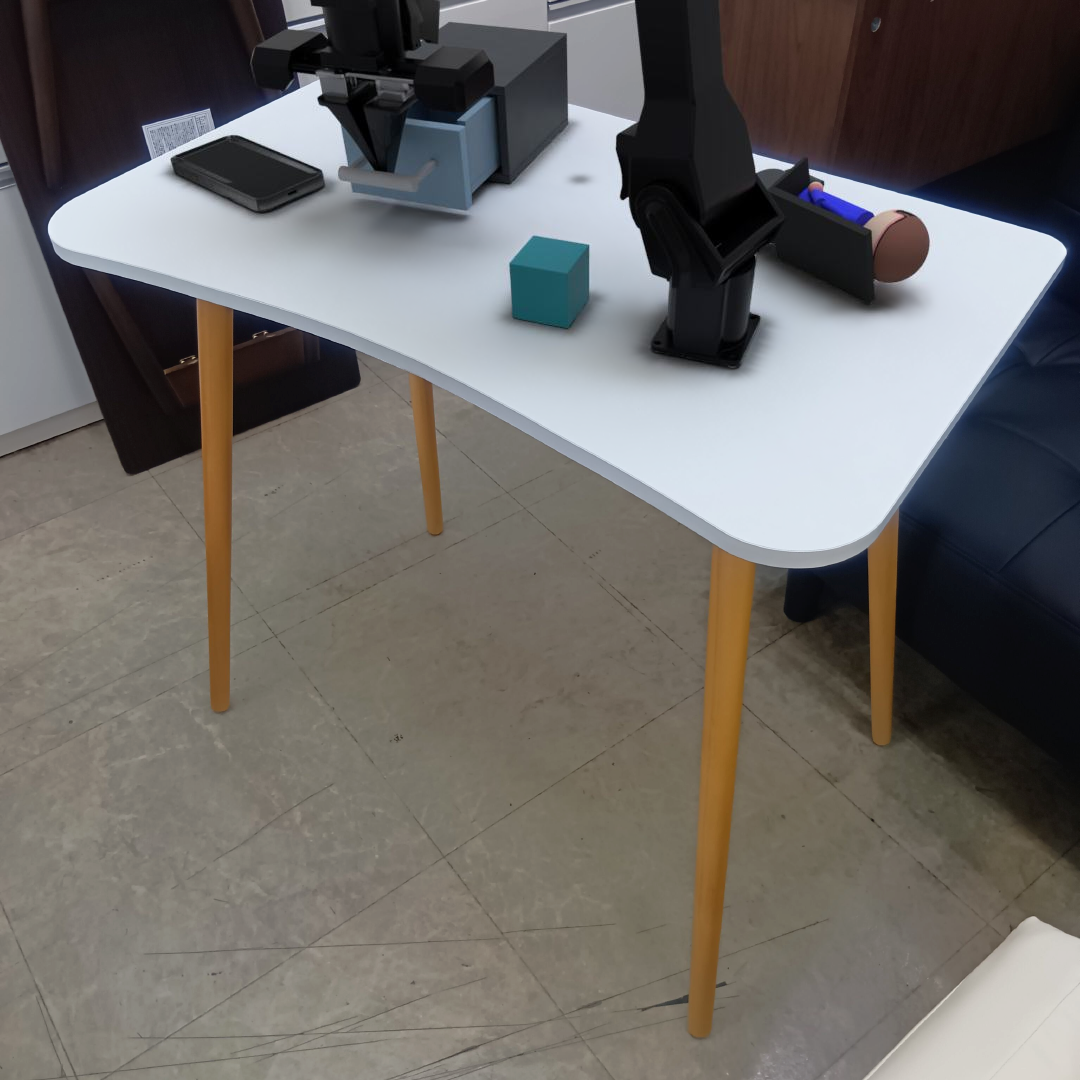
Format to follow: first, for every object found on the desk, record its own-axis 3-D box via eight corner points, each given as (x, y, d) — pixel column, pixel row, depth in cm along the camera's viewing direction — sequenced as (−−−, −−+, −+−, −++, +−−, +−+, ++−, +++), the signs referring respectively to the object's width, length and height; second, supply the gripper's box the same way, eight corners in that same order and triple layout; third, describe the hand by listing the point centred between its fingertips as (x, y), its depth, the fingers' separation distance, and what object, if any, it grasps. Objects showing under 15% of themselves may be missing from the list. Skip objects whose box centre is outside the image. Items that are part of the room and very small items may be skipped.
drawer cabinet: (510, 184, 89) (504, 86, 83) (390, 166, 93) (376, 71, 87) (568, 124, 98) (567, 32, 92) (457, 110, 102) (449, 21, 96)
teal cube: (568, 328, 71) (567, 273, 68) (512, 318, 73) (508, 263, 69) (589, 298, 74) (589, 244, 71) (535, 288, 75) (533, 234, 72)
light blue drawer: (441, 236, 80) (432, 154, 76) (323, 215, 84) (308, 136, 79) (528, 149, 92) (524, 74, 87) (422, 134, 96) (413, 61, 91)
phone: (233, 133, 97) (327, 171, 89) (236, 144, 98) (329, 183, 90) (164, 159, 93) (257, 202, 85) (168, 170, 94) (260, 214, 86)
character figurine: (781, 227, 82) (926, 302, 73) (718, 248, 78) (861, 328, 70) (801, 133, 76) (959, 200, 68) (734, 150, 73) (891, 224, 64)
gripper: (518, -55, 72) (527, 153, 83) (306, -69, 78) (341, 127, 89) (451, -12, 65) (471, 209, 76) (223, -31, 71) (272, 177, 82)
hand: (387, 177), depth 81 cm, fingers closed, pressing on light blue drawer
